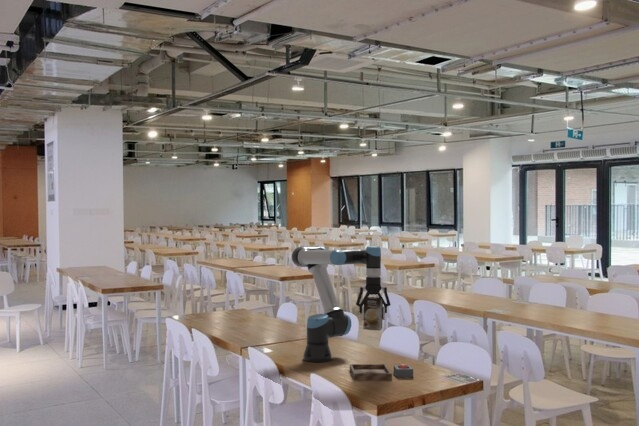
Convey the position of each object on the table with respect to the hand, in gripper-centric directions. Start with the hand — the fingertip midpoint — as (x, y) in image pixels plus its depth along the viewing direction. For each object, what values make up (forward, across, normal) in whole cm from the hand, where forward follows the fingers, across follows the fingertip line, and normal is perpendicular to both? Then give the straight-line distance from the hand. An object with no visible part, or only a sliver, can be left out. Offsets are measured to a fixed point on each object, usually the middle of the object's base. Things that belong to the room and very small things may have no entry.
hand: (373, 319), depth 303 cm
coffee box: (+5, 0, 0) cm, 5 cm away
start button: (+22, +12, -18) cm, 31 cm away
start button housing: (+24, +12, -18) cm, 32 cm away
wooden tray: (+24, -4, -17) cm, 29 cm away
